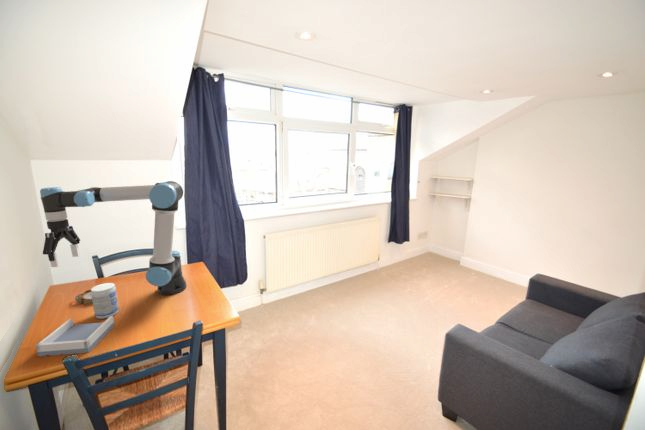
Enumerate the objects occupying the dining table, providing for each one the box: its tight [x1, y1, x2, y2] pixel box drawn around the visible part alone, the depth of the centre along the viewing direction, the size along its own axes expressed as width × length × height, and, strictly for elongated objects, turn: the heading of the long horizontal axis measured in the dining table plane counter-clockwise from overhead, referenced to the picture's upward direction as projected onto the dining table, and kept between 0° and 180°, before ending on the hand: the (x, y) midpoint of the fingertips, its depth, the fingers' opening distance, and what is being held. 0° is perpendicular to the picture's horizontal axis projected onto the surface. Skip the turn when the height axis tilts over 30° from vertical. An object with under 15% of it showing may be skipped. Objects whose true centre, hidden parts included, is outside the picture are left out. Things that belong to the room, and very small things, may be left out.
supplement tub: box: [90, 282, 120, 320], centre depth 138 cm, size 10×10×15 cm
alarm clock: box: [74, 289, 93, 305], centre depth 152 cm, size 11×5×15 cm
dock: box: [35, 315, 115, 357], centre depth 119 cm, size 18×18×5 cm
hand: (66, 261), depth 138 cm, fingers open, 13 cm apart
